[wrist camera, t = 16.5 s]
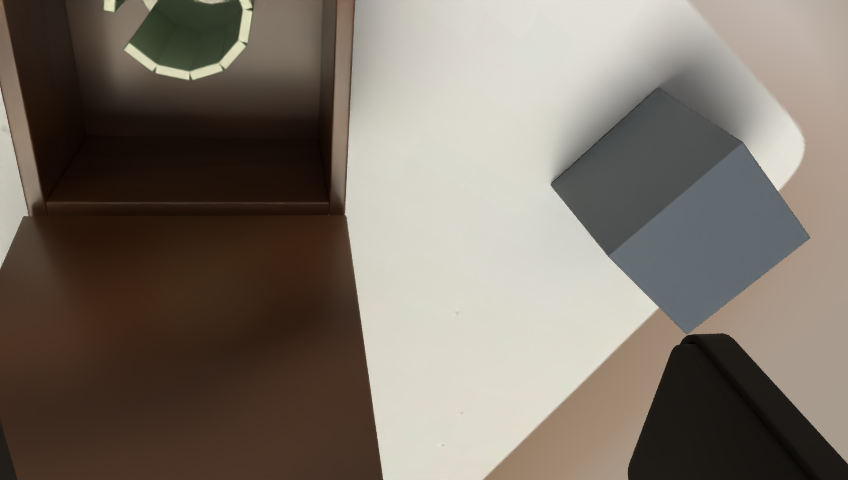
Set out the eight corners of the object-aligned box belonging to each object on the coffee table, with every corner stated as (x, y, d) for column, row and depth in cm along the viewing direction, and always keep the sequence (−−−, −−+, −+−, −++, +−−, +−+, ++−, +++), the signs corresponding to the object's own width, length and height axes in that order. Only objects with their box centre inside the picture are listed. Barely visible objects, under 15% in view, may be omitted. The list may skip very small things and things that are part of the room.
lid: (-148, 602, 15) (-81, 668, 18) (392, 541, 18) (377, 607, 20) (23, 215, 26) (48, 295, 28) (346, 214, 28) (340, 287, 31)
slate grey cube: (657, 87, 37) (743, 141, 30) (722, 172, 41) (811, 238, 34) (550, 184, 39) (608, 256, 32) (622, 257, 43) (687, 335, 36)
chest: (22, -179, 26) (-61, -185, 19) (341, -143, 29) (361, -138, 22) (76, 142, 33) (28, 217, 26) (331, 147, 35) (344, 216, 29)
